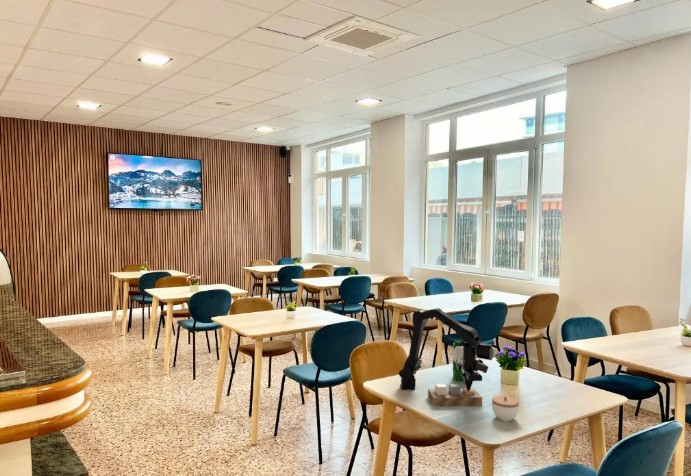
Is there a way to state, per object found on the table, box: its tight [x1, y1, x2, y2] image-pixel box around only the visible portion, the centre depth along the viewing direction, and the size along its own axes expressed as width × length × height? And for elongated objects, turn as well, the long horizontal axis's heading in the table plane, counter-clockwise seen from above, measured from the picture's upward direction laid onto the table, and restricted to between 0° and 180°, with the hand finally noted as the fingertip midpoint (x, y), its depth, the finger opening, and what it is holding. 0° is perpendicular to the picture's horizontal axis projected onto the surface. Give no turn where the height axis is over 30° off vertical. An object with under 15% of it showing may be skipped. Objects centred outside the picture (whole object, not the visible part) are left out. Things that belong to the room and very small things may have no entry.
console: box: [427, 388, 483, 408], centre depth 222 cm, size 22×11×4 cm, turn 94°
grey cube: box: [448, 383, 461, 395], centre depth 222 cm, size 4×4×4 cm
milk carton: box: [452, 339, 464, 382], centre depth 253 cm, size 9×9×20 cm
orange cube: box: [462, 387, 474, 395], centre depth 222 cm, size 4×4×4 cm
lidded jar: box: [491, 395, 520, 422], centre depth 204 cm, size 11×11×9 cm
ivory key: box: [434, 383, 447, 395], centre depth 221 cm, size 4×4×4 cm
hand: (468, 390), depth 222 cm, fingers closed, pressing on orange cube
